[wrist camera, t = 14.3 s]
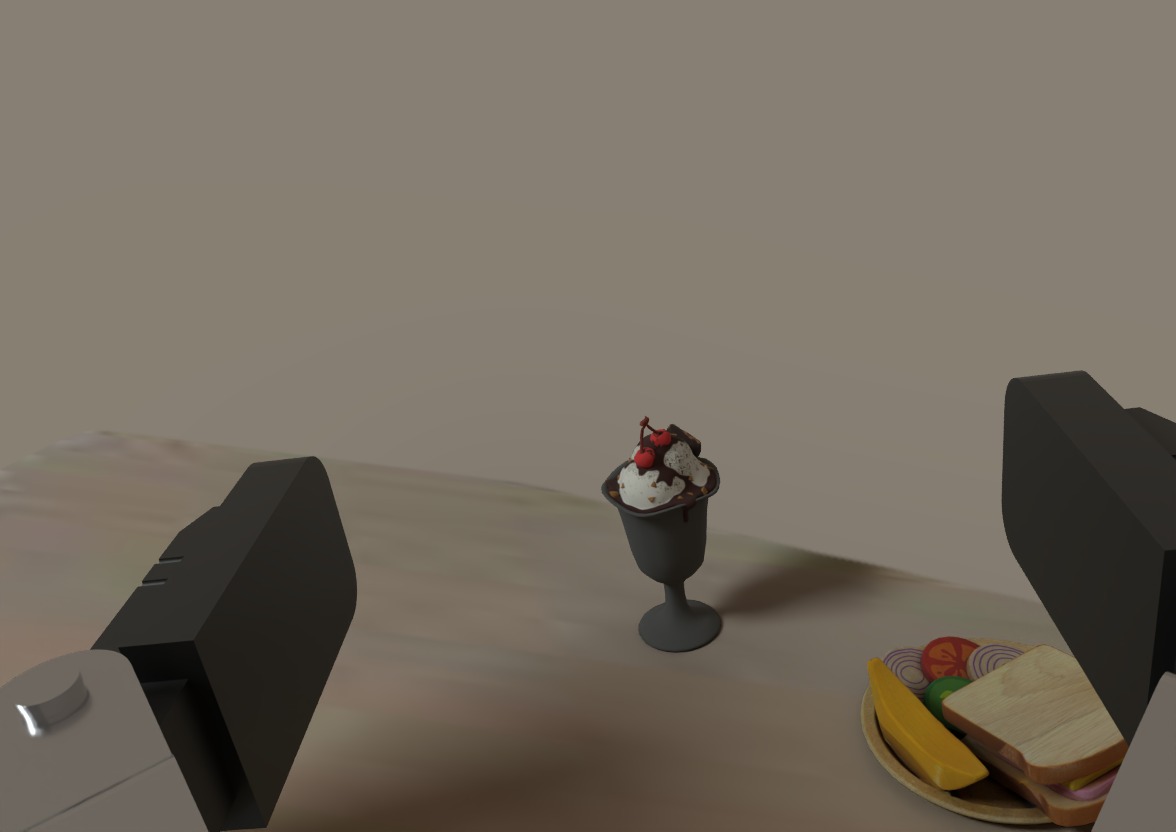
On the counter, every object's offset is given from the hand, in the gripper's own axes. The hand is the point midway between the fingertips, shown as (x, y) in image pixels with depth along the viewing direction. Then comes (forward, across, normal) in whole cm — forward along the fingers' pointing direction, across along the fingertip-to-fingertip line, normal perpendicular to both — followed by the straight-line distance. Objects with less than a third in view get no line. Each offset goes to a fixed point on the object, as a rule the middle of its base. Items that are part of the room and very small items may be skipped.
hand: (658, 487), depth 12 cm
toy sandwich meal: (+28, -14, +32) cm, 45 cm away
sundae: (+39, +2, +32) cm, 51 cm away
